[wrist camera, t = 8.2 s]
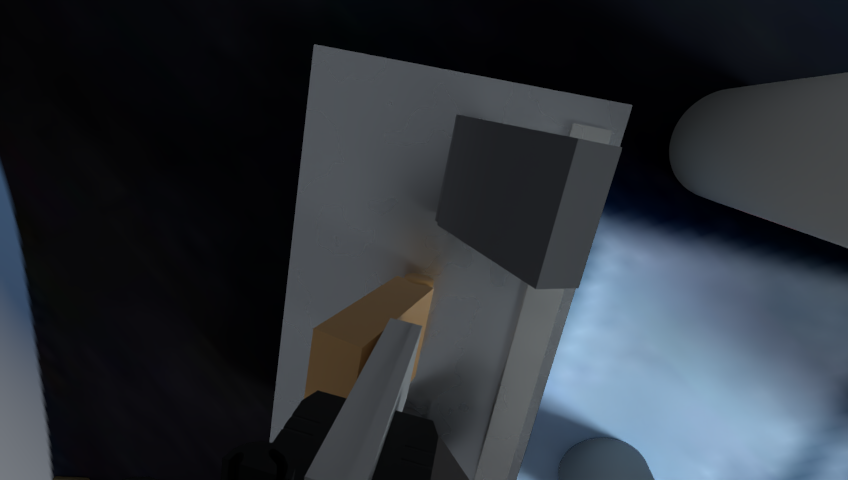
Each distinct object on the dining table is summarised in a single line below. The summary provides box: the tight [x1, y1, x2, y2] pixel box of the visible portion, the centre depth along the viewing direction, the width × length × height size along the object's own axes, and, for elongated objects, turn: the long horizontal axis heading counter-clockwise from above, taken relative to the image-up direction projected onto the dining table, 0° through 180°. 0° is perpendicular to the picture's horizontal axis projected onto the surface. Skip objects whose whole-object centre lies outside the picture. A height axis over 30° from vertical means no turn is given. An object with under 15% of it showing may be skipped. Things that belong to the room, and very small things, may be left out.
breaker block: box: [269, 44, 633, 480], centre depth 21 cm, size 12×20×5 cm, turn 169°
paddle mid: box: [304, 273, 434, 399], centre depth 16 cm, size 2×4×7 cm, turn 169°
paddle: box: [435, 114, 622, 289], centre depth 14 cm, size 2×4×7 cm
